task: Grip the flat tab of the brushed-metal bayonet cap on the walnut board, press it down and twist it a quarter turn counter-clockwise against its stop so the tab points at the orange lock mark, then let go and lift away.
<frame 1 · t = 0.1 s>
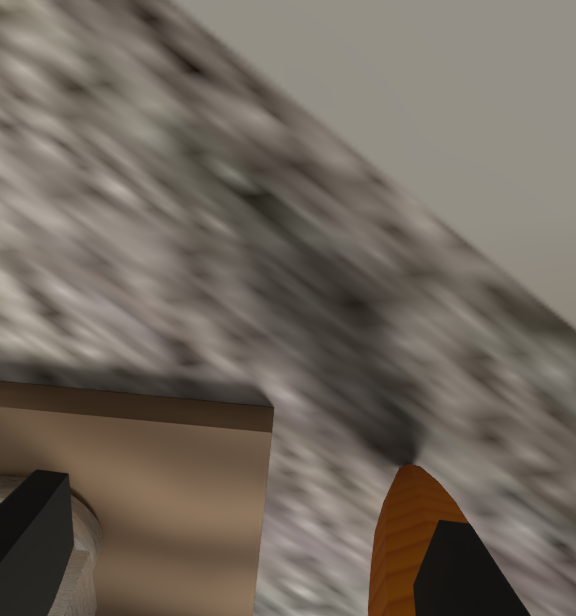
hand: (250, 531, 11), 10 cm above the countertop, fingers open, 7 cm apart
lock board: (46, 497, 25), on the countertop
carrot: (407, 463, 23), on the countertop
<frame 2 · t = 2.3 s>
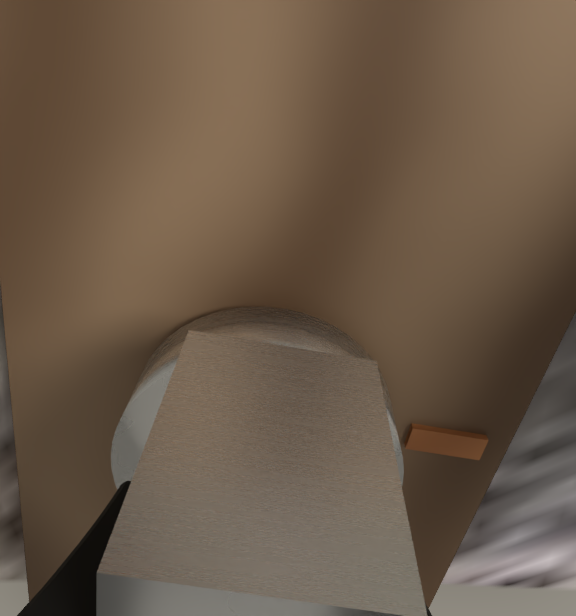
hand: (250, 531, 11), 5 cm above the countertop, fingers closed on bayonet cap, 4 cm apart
lock board: (267, 376, 15), on the countertop
bayonet cap: (250, 538, 10), point 5 cm above the countertop, hinge at 0.0°, touching gripper
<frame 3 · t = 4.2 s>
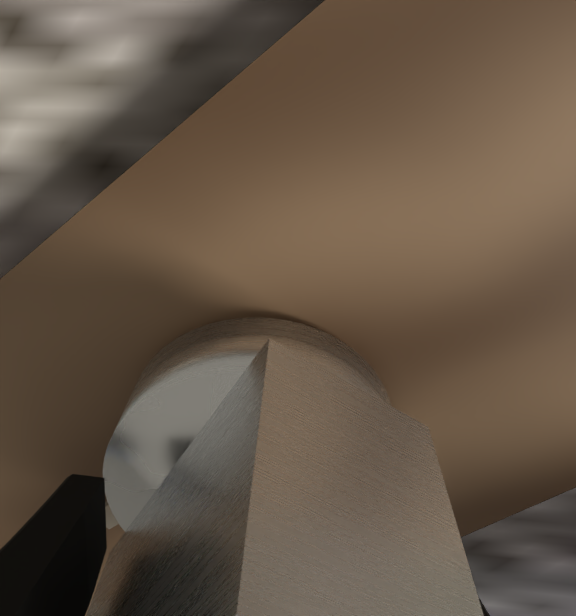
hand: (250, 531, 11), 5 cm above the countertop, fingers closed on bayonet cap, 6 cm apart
lock board: (266, 386, 15), on the countertop
bayonet cap: (247, 560, 10), point 5 cm above the countertop, hinge at 19.8°, touching gripper
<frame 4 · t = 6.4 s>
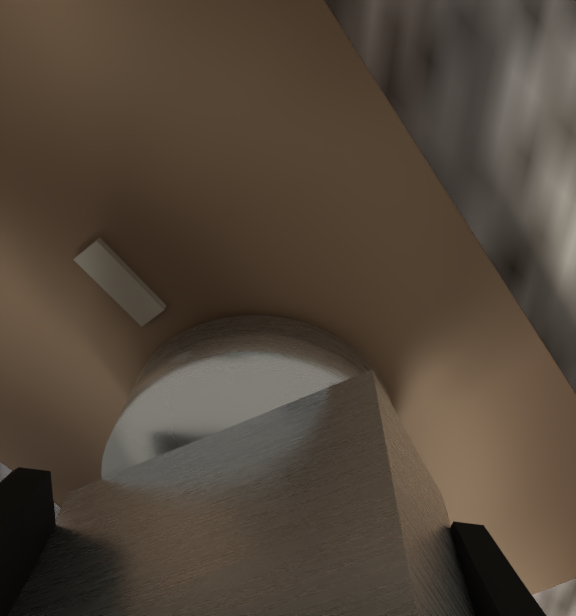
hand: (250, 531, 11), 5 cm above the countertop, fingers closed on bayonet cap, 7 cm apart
lock board: (266, 385, 15), on the countertop
bayonet cap: (246, 559, 10), point 5 cm above the countertop, hinge at 80.7°, touching gripper
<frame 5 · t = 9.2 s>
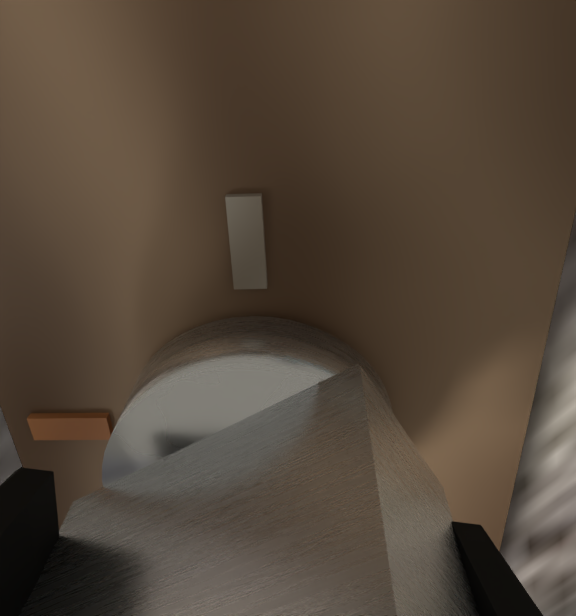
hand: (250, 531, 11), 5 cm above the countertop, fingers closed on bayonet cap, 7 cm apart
lock board: (266, 386, 15), on the countertop
bayonet cap: (246, 560, 10), point 5 cm above the countertop, hinge at 120.0°, touching gripper
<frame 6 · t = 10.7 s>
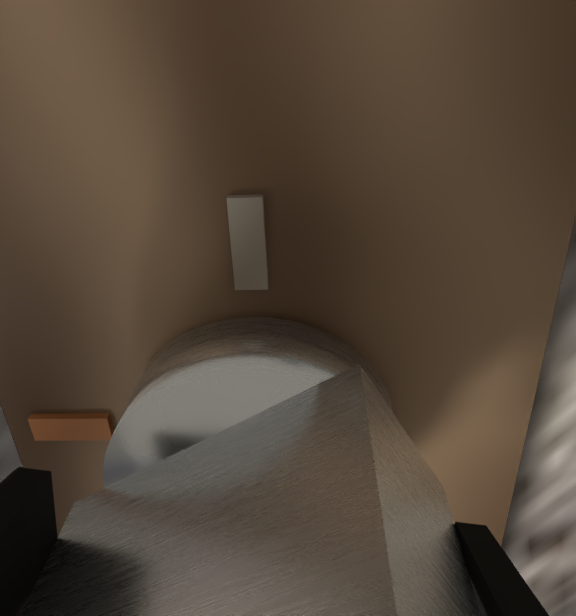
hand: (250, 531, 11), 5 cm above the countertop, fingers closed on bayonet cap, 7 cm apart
lock board: (266, 386, 15), on the countertop
bayonet cap: (247, 560, 10), point 5 cm above the countertop, hinge at 120.2°, touching gripper
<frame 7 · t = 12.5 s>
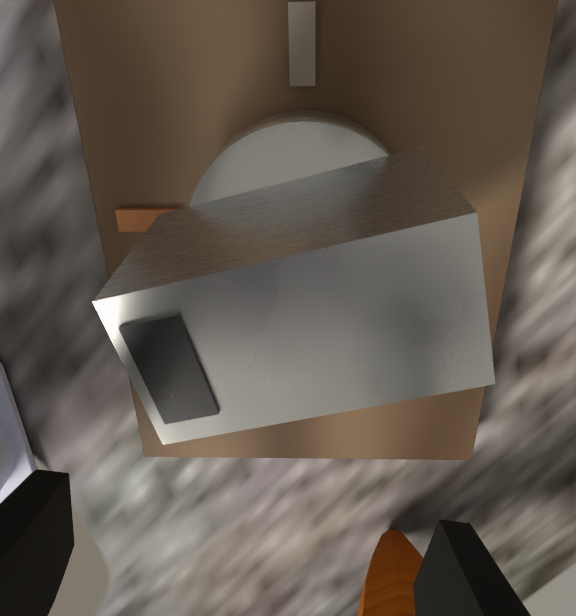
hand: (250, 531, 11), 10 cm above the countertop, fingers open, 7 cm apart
lock board: (304, 202, 18), on the countertop
bayonet cap: (301, 268, 13), point 5 cm above the countertop, hinge at 103.7°
carrot: (391, 527, 26), on the countertop
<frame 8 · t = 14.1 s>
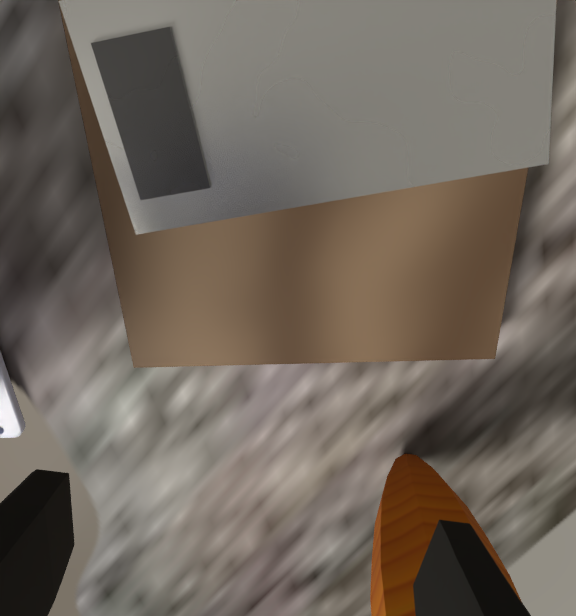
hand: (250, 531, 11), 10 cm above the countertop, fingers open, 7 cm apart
lock board: (306, 54, 16), on the countertop
bayonet cap: (312, 69, 11), point 5 cm above the countertop, hinge at 98.2°
carrot: (404, 452, 24), on the countertop
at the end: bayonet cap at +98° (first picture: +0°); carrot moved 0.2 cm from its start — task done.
